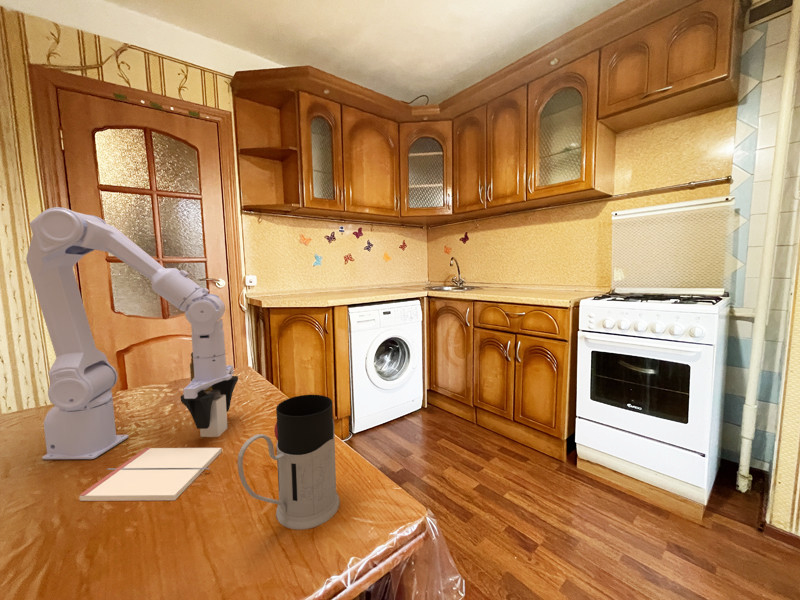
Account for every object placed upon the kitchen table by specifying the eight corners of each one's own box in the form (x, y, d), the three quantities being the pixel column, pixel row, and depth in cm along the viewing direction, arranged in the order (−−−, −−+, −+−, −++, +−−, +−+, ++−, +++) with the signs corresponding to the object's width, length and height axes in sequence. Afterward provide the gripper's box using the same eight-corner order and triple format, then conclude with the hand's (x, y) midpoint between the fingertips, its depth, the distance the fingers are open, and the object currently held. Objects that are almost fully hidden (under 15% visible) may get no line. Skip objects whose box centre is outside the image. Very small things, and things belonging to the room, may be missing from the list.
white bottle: (200, 436, 68) (197, 395, 67) (210, 428, 72) (208, 389, 71) (218, 436, 68) (215, 395, 67) (227, 428, 72) (225, 389, 71)
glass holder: (352, 499, 49) (350, 400, 48) (266, 572, 38) (259, 445, 36) (311, 479, 54) (308, 388, 53) (224, 538, 43) (216, 424, 41)
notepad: (69, 500, 50) (69, 495, 49) (138, 452, 62) (137, 447, 62) (184, 500, 49) (184, 494, 49) (229, 451, 62) (229, 447, 62)
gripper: (208, 364, 61) (213, 436, 62) (245, 346, 76) (248, 404, 77) (169, 365, 61) (175, 436, 62) (214, 346, 76) (218, 404, 77)
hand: (213, 419), depth 70 cm, fingers open, 7 cm apart
